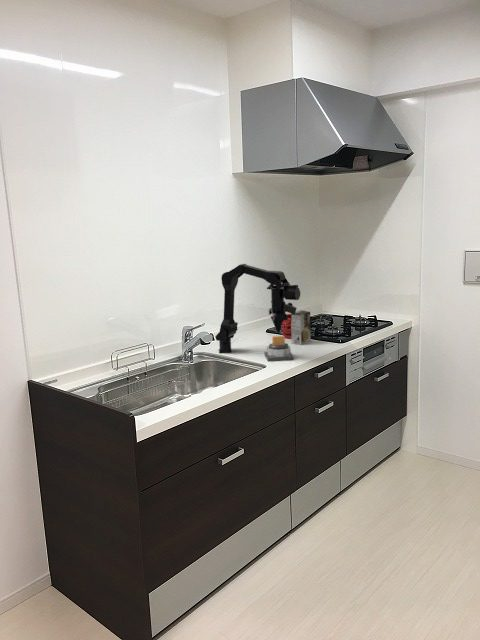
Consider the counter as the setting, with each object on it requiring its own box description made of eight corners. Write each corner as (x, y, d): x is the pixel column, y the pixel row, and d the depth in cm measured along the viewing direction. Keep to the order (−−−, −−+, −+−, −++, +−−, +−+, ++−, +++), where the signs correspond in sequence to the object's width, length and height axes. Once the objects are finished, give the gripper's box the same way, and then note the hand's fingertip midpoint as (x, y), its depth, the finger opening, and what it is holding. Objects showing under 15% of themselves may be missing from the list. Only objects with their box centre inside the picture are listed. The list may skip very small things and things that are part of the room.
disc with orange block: (267, 349, 257) (267, 334, 256) (286, 348, 258) (286, 333, 257) (270, 353, 248) (270, 339, 247) (289, 352, 249) (289, 338, 248)
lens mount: (264, 354, 259) (264, 344, 258) (289, 353, 260) (289, 343, 259) (267, 361, 247) (267, 350, 246) (293, 359, 248) (293, 349, 247)
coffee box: (300, 340, 287) (300, 310, 284) (311, 341, 283) (310, 311, 280) (291, 343, 280) (290, 313, 277) (301, 345, 276) (301, 314, 273)
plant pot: (283, 334, 303) (283, 313, 301) (307, 335, 299) (306, 313, 296) (277, 339, 291) (277, 317, 289) (301, 340, 287) (301, 318, 284)
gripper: (298, 301, 240) (299, 335, 243) (291, 295, 258) (291, 327, 261) (274, 302, 239) (274, 336, 242) (268, 296, 257) (268, 328, 260)
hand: (278, 332), depth 251 cm, fingers closed
